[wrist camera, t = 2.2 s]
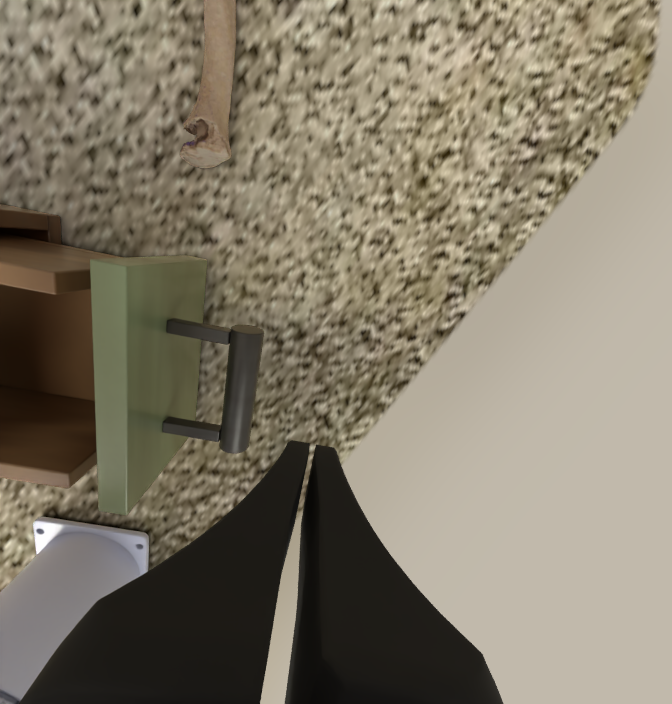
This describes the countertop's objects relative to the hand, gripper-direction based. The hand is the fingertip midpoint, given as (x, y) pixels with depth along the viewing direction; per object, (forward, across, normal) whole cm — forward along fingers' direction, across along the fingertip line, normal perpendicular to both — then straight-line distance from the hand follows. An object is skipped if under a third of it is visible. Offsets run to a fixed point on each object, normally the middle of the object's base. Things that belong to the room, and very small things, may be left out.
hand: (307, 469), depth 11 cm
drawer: (+9, +11, 0) cm, 14 cm away
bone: (+10, +8, -15) cm, 20 cm away
